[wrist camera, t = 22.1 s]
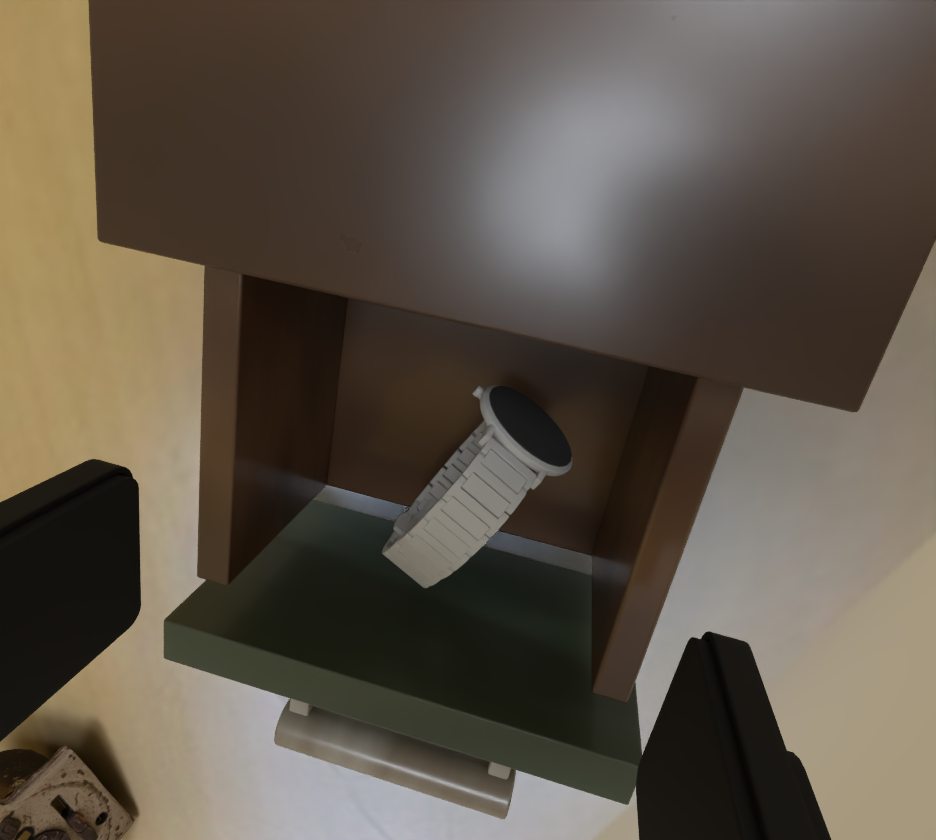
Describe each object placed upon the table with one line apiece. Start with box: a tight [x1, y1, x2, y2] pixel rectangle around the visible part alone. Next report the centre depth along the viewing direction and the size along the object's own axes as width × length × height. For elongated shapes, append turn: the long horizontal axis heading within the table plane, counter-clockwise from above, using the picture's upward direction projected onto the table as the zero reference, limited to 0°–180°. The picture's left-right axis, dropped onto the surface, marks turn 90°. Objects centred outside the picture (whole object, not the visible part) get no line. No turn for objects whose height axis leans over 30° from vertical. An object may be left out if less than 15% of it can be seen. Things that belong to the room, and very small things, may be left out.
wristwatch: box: [382, 385, 573, 588], centre depth 15 cm, size 3×5×5 cm, turn 141°
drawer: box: [164, 266, 744, 819], centre depth 15 cm, size 19×11×7 cm, turn 169°
